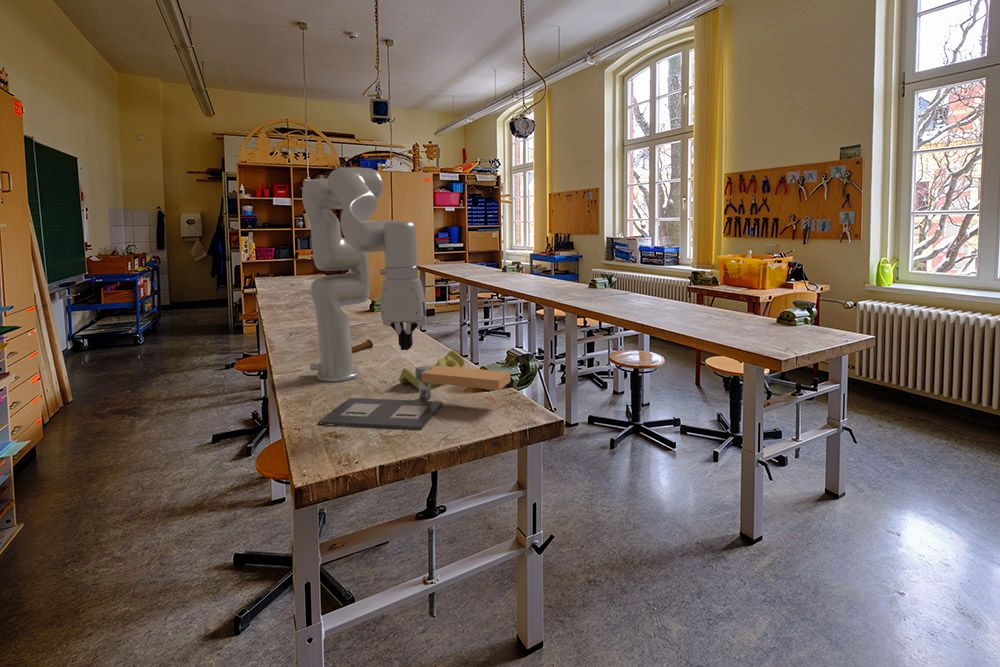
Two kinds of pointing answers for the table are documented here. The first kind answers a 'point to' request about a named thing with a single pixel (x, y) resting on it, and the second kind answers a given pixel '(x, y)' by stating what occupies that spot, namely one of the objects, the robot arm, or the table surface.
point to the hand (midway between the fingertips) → (406, 348)
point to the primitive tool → (362, 346)
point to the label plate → (385, 412)
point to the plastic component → (449, 360)
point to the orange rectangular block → (463, 377)
